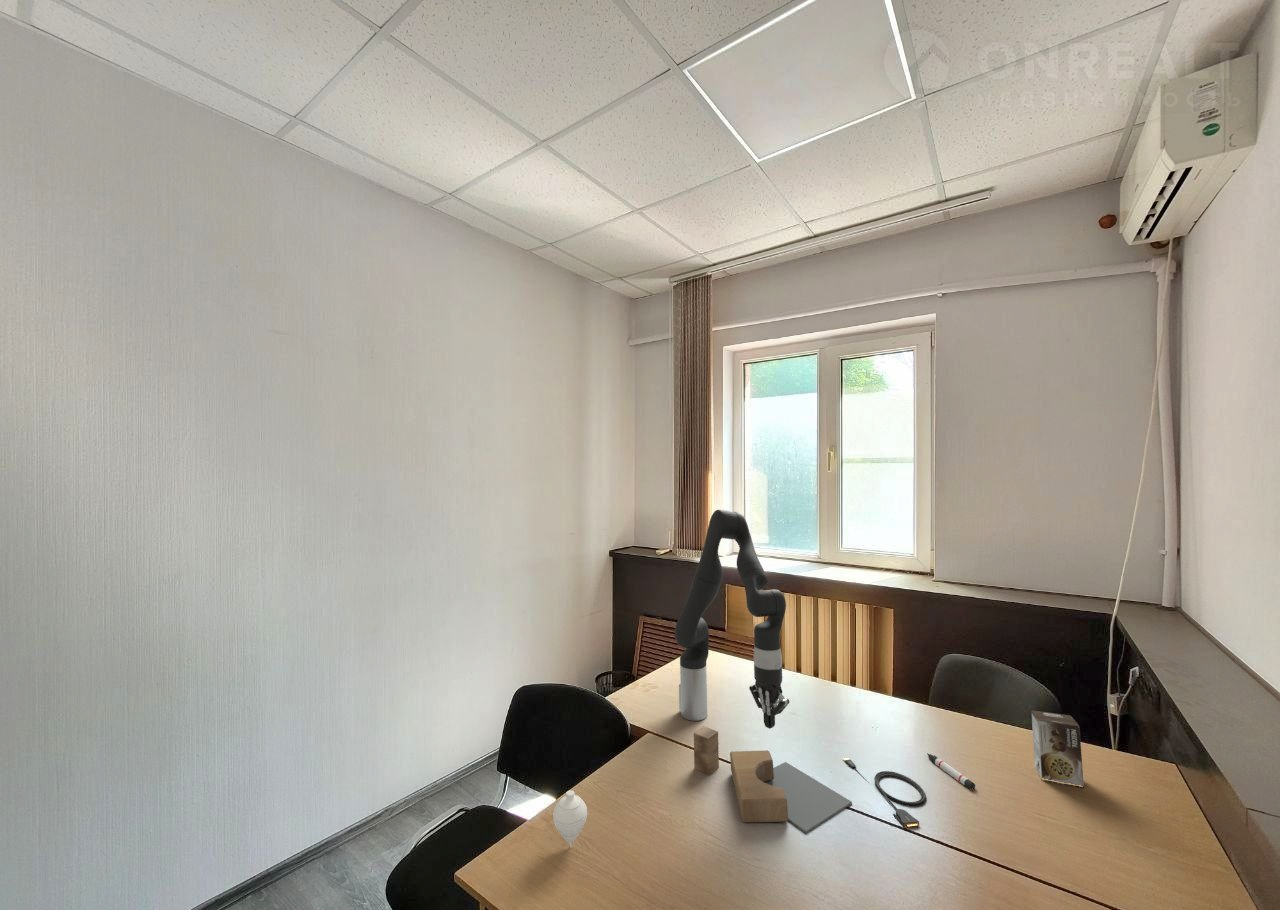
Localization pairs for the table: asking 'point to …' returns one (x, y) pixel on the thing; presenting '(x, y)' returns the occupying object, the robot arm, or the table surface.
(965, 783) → the marker
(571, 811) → the spinning top
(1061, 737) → the coffee box
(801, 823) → the mat
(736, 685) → the table surface
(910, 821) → the cable
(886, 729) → the table surface
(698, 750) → the walnut block
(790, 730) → the table surface
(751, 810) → the decorative block
